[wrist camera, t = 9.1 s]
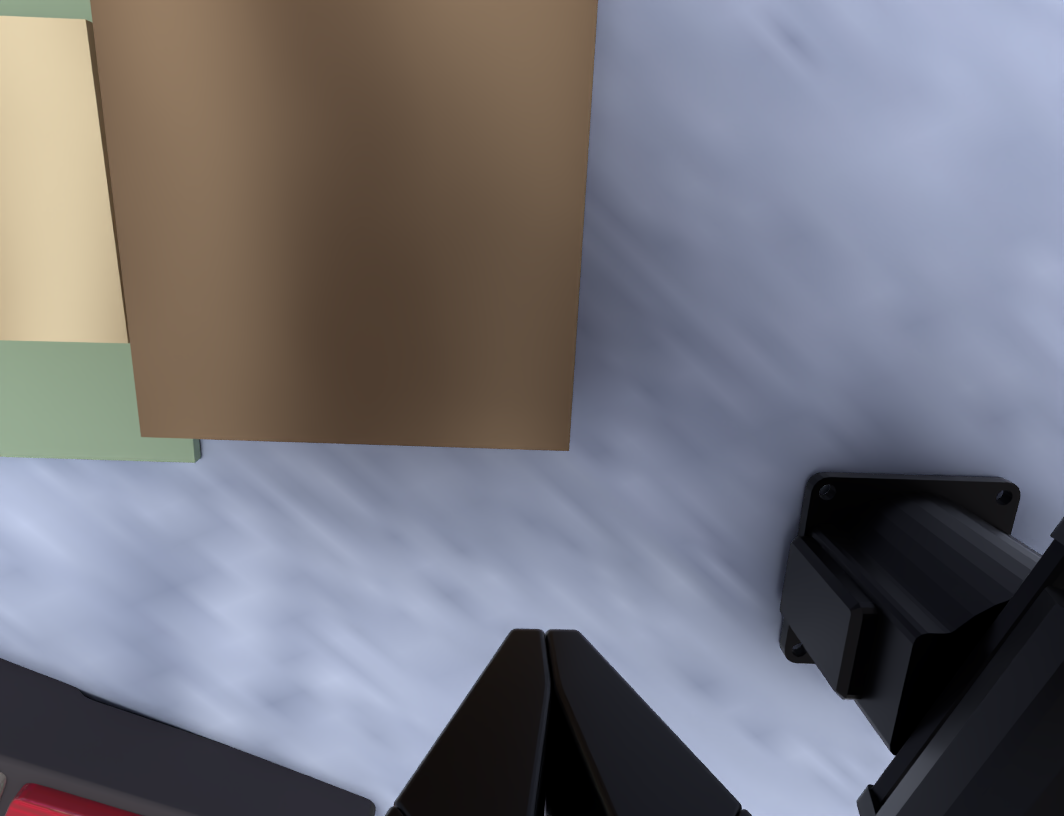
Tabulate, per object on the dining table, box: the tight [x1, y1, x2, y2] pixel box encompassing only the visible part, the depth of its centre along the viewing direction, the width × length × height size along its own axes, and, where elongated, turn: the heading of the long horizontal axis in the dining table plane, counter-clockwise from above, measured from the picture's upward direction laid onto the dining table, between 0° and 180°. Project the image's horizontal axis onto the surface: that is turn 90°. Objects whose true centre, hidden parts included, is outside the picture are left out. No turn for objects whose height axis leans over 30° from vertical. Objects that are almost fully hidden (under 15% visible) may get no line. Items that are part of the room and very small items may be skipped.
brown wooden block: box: [90, 0, 598, 451], centre depth 16 cm, size 10×12×4 cm
